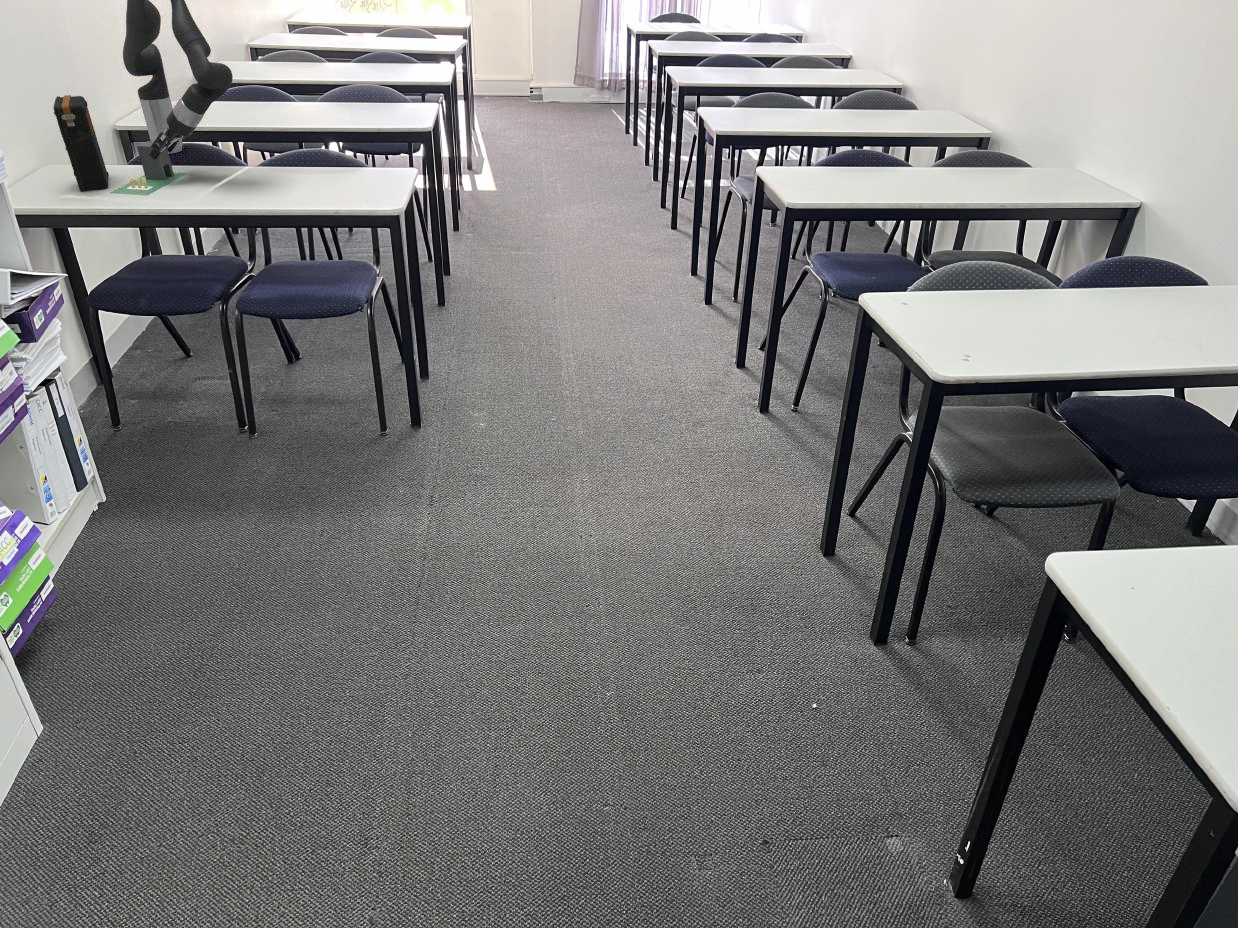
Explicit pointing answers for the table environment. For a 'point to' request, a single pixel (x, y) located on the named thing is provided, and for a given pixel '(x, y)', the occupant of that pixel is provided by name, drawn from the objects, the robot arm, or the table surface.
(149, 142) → the plug housing
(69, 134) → the black bag
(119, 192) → the header board
